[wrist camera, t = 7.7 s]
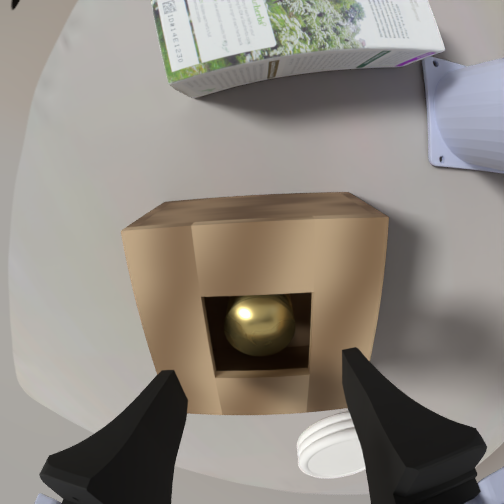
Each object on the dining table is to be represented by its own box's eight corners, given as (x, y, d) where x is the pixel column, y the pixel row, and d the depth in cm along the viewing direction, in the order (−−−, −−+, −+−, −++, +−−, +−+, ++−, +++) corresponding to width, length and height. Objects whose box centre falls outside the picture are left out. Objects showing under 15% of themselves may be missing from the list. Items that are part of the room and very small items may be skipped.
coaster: (335, 463, 30) (339, 485, 27) (277, 443, 28) (278, 468, 25) (399, 423, 27) (407, 445, 24) (346, 396, 25) (354, 423, 22)
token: (298, 274, 20) (308, 315, 15) (272, 317, 21) (274, 364, 17) (246, 251, 20) (241, 287, 15) (223, 297, 21) (213, 341, 16)
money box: (348, 192, 19) (388, 217, 12) (339, 344, 23) (358, 406, 16) (164, 202, 19) (120, 231, 13) (190, 350, 23) (170, 411, 17)
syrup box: (192, 101, 17) (405, 68, 16) (164, 86, 11) (452, 52, 10) (174, 27, 15) (382, -1, 14) (144, -8, 9) (418, -34, 8)
